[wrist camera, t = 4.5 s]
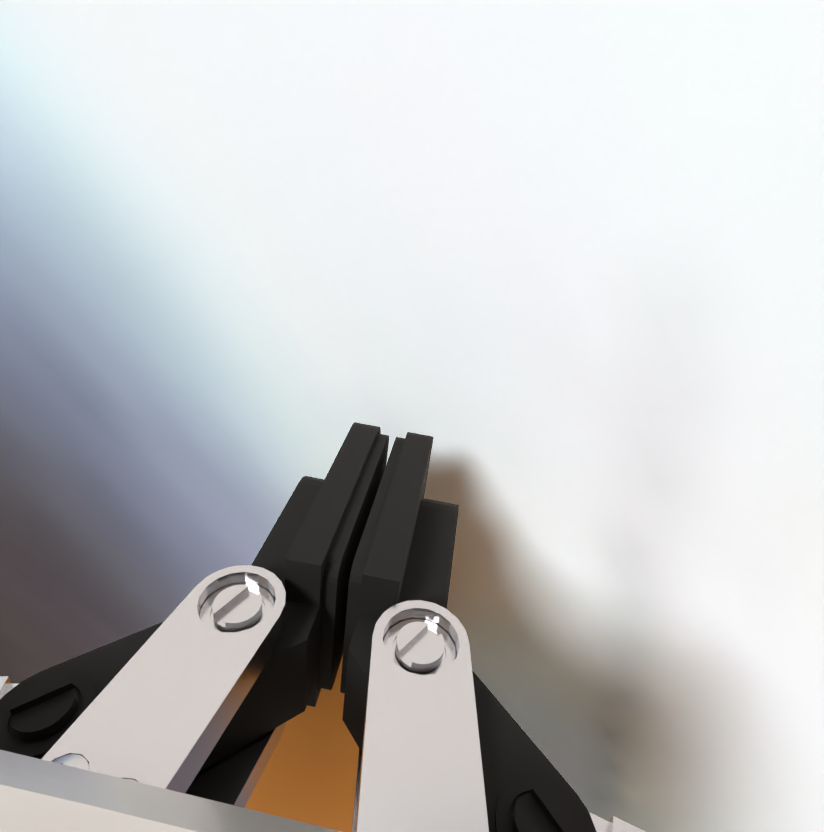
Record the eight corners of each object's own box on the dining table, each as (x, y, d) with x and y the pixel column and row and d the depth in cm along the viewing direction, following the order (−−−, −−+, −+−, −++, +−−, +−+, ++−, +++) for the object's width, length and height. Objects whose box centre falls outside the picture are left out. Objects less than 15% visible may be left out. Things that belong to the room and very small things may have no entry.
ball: (268, 483, 14) (128, 701, 9) (494, 532, 13) (489, 788, 8) (266, 631, 17) (161, 858, 12) (450, 674, 16) (427, 927, 11)
